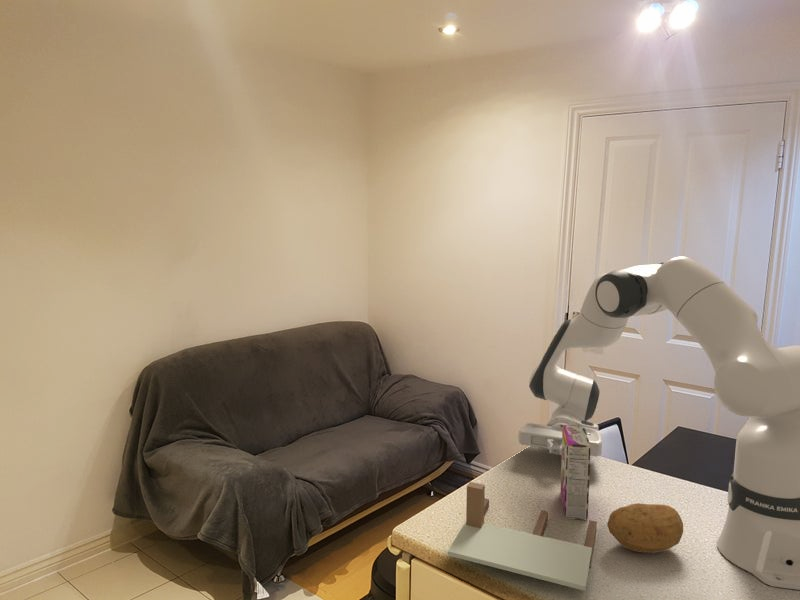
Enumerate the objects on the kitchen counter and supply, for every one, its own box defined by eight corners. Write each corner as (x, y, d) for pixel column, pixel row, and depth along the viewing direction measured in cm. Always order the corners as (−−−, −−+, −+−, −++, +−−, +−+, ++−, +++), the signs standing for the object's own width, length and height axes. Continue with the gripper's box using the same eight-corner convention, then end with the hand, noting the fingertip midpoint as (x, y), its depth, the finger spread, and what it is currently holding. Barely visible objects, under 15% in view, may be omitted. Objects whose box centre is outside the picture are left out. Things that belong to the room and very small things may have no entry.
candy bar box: (558, 492, 125) (561, 423, 123) (581, 494, 124) (585, 425, 122) (563, 518, 114) (566, 443, 112) (588, 521, 113) (592, 445, 111)
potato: (595, 535, 108) (597, 497, 107) (663, 531, 109) (666, 494, 108) (619, 566, 98) (622, 524, 97) (694, 561, 100) (697, 520, 99)
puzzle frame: (596, 530, 110) (597, 521, 109) (590, 568, 98) (590, 557, 98) (482, 506, 119) (482, 497, 119) (464, 537, 107) (464, 528, 107)
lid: (591, 551, 99) (594, 506, 98) (585, 590, 89) (587, 540, 87) (466, 523, 109) (467, 481, 107) (447, 555, 98) (448, 509, 97)
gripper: (523, 414, 148) (512, 431, 135) (604, 425, 140) (600, 445, 127) (523, 436, 149) (511, 456, 136) (603, 449, 140) (599, 471, 128)
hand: (555, 451), depth 132 cm, fingers closed
